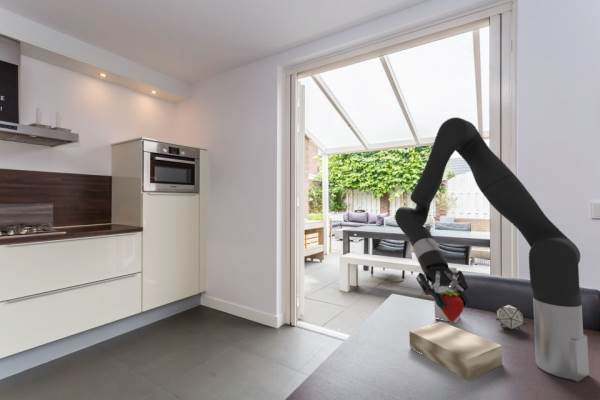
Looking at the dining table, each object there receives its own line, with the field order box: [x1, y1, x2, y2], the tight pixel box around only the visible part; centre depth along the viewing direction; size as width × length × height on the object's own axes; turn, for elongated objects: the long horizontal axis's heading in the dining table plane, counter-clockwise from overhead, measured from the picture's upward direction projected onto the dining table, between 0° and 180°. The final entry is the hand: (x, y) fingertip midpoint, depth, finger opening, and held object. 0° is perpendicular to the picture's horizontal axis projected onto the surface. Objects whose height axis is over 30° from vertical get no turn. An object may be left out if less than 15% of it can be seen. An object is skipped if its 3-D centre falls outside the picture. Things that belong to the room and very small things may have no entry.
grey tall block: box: [433, 266, 461, 324], centre depth 106 cm, size 7×7×19 cm
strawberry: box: [441, 288, 465, 323], centre depth 81 cm, size 6×8×10 cm
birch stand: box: [408, 321, 503, 381], centre depth 80 cm, size 18×14×5 cm
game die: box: [494, 301, 528, 333], centre depth 96 cm, size 9×8×10 cm
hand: (454, 306), depth 79 cm, fingers closed on strawberry, 6 cm apart
